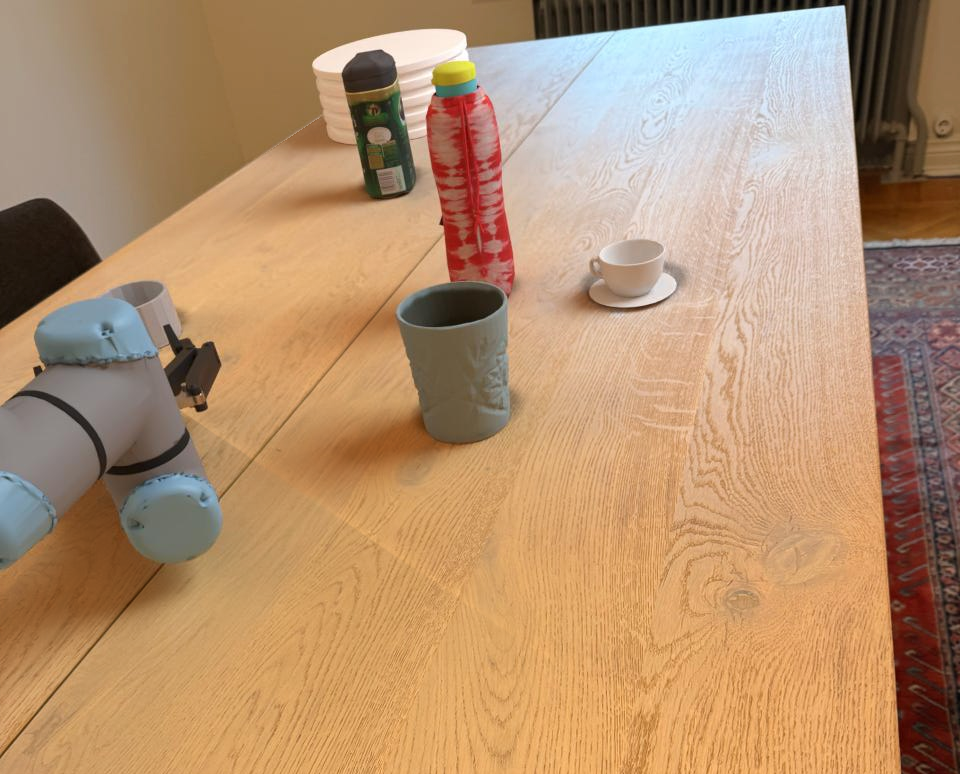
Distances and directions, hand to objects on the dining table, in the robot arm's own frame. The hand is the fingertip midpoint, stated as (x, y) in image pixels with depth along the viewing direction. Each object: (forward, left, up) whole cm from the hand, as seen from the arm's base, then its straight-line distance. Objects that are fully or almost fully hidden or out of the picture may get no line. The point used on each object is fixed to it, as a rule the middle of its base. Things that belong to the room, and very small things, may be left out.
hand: (107, 357), depth 98 cm
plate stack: (-63, +85, -8) cm, 106 cm away
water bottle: (+10, +42, -8) cm, 44 cm away
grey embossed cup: (+31, +22, -8) cm, 39 cm away
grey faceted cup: (-19, +10, -7) cm, 23 cm away
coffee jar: (-33, +60, -8) cm, 69 cm away
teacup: (+25, +52, -8) cm, 59 cm away
